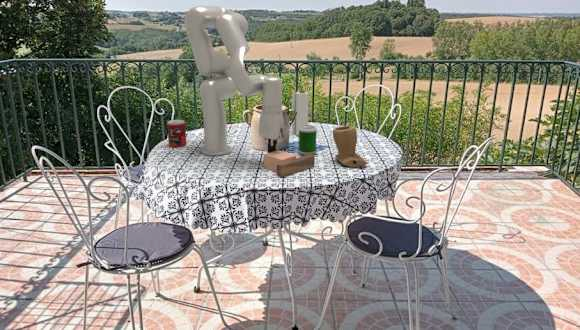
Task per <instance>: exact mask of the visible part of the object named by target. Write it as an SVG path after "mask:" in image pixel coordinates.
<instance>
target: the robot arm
mask: <svg viewBox="0 0 580 330" xmlns="http://www.w3.org/2000/svg"><path fill="white" fill-rule="evenodd" d="M184 29H185V32H186V35H187V37H188V40H189V43H190V45H191V50H192V54H193V58H194V61H195V65H196V70H197V71H198V73H199V74H200V75H202V76H206V77H207V76H216V77H212V78H207V79H205V80H203V81H202V82H201V84H200V86H199V89H198V90H199V97H200V100H201V106H202V113H203V116H202V117H203V130H204V131H203V133H204V136H203V137H204V140H201V144H202V145H203V147H202V148H201V153H202V155H207V156H222V155H228V154H230V153H231V151H232V149H231V147H230V146H228V137H227V136H228V132H227V113H226V107H225V105H224V103H223V101H224V100H228V99H231V98H233V97H235V95H236V94H237V91H238V92H239V93H240V94H241V95H242V96H245V97H250V96H256V95H261V94H262V96H261V97H262V105H261V108H262V110H261V112H260V117H259V126H258V134H259V136H260V137H261V139H264V140H265V143H266V145H267V153H270V152H274V151H277V145H278V144H279V143H280V144H281V143H283V138H284V136H285V123H284V122H285V120H284V114H283V80H282V78H281V77H279V76H274V75H273V76H272V75H271V76H269V75H267V74H261V73H257V74H250V75H249V74H248V72H247V70H246V68H245V65H244V58H245V56H246V55H247V54H248V52H249V51H250V46H249V43H248V41H247V39H246V38H245V34H246V33H247V32H248V30H249V23H248V20H247V19H246V17H245V16H244V15H243V14H241V13H238V12H236V11H233V10H231V9H227V8H225V7H222V6H215V5H196V6H193V7H191V8H189V9H188V11H187V12H186V14H185V17H184ZM206 29H216V31H217V34H218V35H219V38H220V40H221V41H222V43H223V46H224V47H225V49H226V52H227V53H226V52H224V51H221V50H216V51H215V49H214V45H213V41H212V39H211V37H210V35H209V33H208V32H207V31H206Z"/></svg>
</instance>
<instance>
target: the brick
mask: <svg viewBox="0 0 580 330" xmlns="http://www.w3.org/2000/svg"><path fill="white" fill-rule="evenodd" d="M297 156H298V155H296V154H293V153H290V152H286V151H284V150H283V151H282V150H279V149H278V150H277V149H276V151H274V152H270V153H268V152H267V153H264V154H263V168H264V169H266V170H269V171H272V172H275V173H277V164H279V163H282V162H286V161H289V160H292V159H295V158H298V157H297Z"/></svg>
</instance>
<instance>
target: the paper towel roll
mask: <svg viewBox="0 0 580 330" xmlns="http://www.w3.org/2000/svg"><path fill="white" fill-rule="evenodd" d="M309 94H310V93H309V92H308V91H296V92H295V91H294V92H291V110H292V109H295V110H296V112H297V115H296V118H295V120H294V122H293V123H292V122H291V135H296V136H298V137H299V128H300V127H301V126H303V125H309V97H310V96H309Z"/></svg>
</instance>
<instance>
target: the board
mask: <svg viewBox="0 0 580 330" xmlns="http://www.w3.org/2000/svg"><path fill="white" fill-rule="evenodd" d="M315 156H316V155H315V154H314V155H310V154H308V155H301V156H299V157H297V158H295V159H292V160H289V161H286V162H282V163H279V164H277V172H276V176H277V177H280V178H285V177H288V176H290V175H293V174H296V173H299V172H302V171H304V170H307V169H311V168H314V167H315V158H316V157H315Z"/></svg>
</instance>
